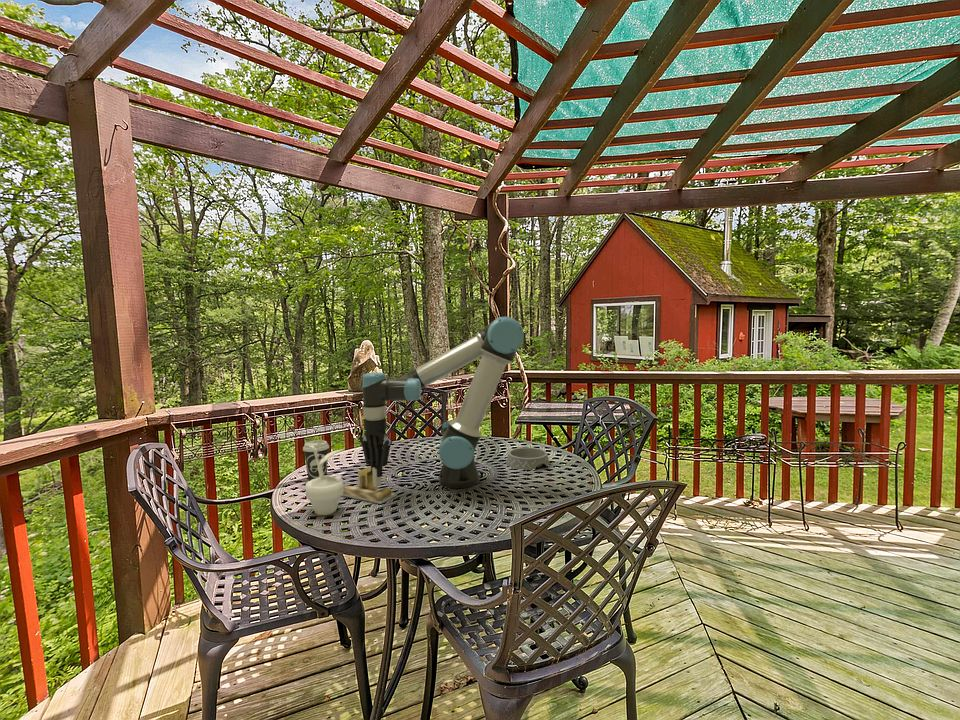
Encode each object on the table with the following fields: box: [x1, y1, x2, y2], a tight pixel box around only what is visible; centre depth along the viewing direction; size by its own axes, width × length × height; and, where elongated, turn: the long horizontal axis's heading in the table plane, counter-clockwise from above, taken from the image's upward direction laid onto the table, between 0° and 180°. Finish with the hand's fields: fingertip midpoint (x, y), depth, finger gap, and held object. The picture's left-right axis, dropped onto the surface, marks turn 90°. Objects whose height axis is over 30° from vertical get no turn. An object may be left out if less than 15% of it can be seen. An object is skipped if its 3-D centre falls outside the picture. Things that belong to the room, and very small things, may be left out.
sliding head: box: [357, 466, 378, 491], centre depth 168 cm, size 4×6×8 cm
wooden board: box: [342, 485, 397, 505], centre depth 167 cm, size 17×8×1 cm, turn 62°
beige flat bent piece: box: [343, 484, 392, 502], centre depth 167 cm, size 17×8×2 cm, turn 62°
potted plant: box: [304, 441, 345, 516], centre depth 154 cm, size 13×12×25 cm
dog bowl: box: [505, 446, 550, 470], centre depth 200 cm, size 17×18×5 cm
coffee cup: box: [302, 439, 330, 482], centre depth 183 cm, size 10×10×15 cm
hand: (377, 485), depth 167 cm, fingers closed
